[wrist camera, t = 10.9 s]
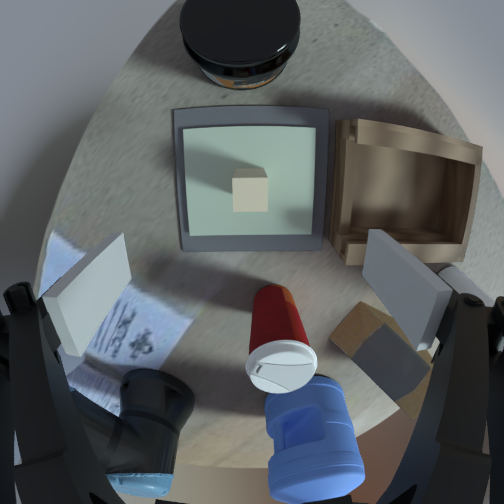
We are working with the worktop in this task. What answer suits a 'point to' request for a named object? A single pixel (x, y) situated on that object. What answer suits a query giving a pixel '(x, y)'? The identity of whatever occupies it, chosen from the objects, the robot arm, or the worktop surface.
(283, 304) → the paper cup
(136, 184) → the worktop surface
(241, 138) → the cover plate
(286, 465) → the water jug
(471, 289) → the bottle
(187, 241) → the charcoal mat
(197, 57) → the supplement container
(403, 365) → the sandwich container
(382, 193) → the walnut box
